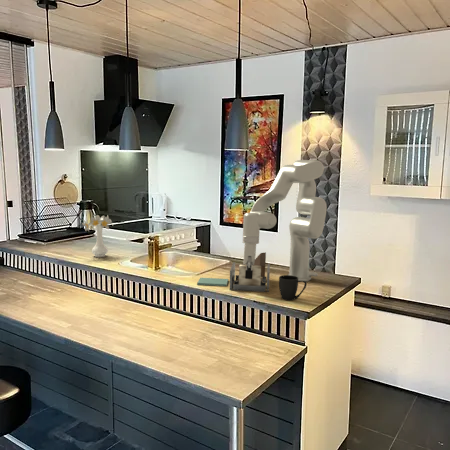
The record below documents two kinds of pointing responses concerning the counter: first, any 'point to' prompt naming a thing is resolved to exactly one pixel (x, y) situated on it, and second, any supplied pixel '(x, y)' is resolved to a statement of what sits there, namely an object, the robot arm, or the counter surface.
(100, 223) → the flower vase
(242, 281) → the birch sheet
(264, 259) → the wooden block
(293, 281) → the mug
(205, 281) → the mat
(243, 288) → the rack
